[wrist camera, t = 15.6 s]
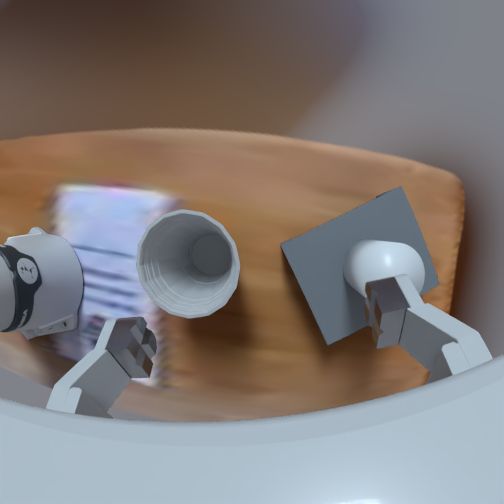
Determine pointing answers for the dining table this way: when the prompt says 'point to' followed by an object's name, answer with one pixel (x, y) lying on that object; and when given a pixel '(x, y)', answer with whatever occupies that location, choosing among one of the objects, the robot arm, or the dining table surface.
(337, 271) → the shelf
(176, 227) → the plastic cup
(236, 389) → the dining table surface
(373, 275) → the white rounded domed part
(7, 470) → the robot arm
